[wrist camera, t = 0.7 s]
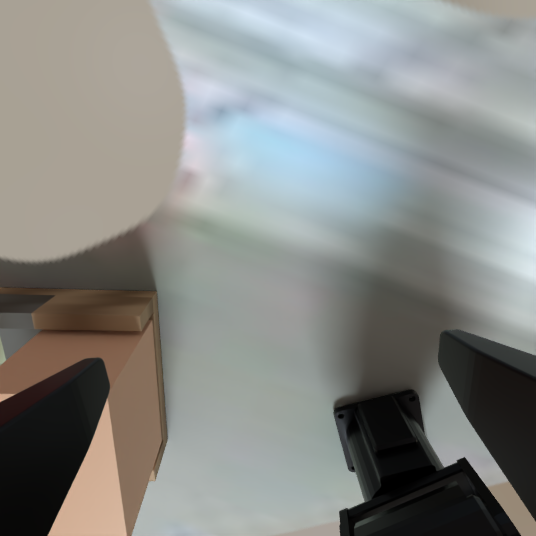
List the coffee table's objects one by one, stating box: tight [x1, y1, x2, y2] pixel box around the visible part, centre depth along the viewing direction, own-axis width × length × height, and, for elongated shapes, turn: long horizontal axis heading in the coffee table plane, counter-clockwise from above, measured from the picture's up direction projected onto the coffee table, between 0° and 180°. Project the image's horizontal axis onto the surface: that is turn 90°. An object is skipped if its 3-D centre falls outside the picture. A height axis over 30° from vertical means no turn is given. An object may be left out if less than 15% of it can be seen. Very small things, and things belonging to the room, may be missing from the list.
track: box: [0, 287, 167, 481], centre depth 23 cm, size 19×13×4 cm
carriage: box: [0, 320, 162, 536], centre depth 20 cm, size 6×10×7 cm, turn 178°
